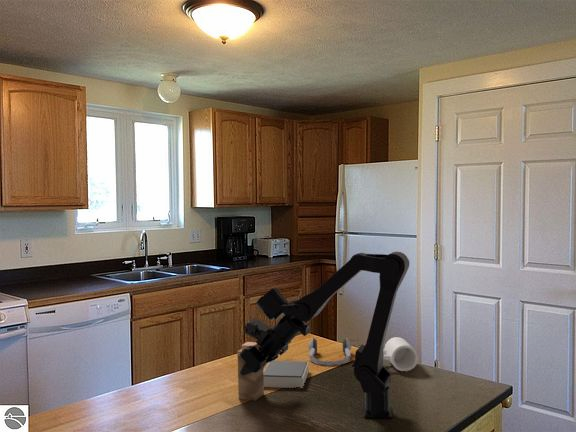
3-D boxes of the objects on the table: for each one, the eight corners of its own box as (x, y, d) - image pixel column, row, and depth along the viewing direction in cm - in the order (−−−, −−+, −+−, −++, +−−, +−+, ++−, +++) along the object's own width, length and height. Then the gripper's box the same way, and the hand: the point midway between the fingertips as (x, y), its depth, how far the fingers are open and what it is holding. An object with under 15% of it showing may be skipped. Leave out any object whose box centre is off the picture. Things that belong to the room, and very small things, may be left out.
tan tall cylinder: (263, 393, 136) (262, 347, 136) (255, 400, 131) (254, 352, 131) (247, 391, 138) (246, 346, 138) (238, 398, 133) (237, 351, 133)
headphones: (309, 345, 179) (306, 372, 160) (308, 329, 178) (306, 355, 159) (358, 345, 178) (362, 372, 158) (358, 329, 177) (362, 355, 157)
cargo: (258, 348, 135) (258, 342, 135) (253, 351, 132) (252, 346, 132) (247, 347, 136) (247, 341, 136) (241, 350, 133) (241, 345, 133)
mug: (409, 361, 161) (408, 336, 161) (418, 371, 151) (417, 345, 151) (372, 362, 161) (371, 337, 161) (378, 372, 151) (378, 346, 151)
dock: (302, 388, 139) (302, 376, 139) (260, 386, 141) (260, 375, 141) (308, 371, 153) (308, 361, 153) (269, 370, 155) (269, 360, 155)
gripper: (276, 303, 141) (243, 339, 146) (246, 317, 124) (208, 357, 128) (303, 333, 138) (268, 369, 143) (276, 352, 121) (236, 392, 125)
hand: (246, 370), depth 135 cm, fingers closed on tan tall cylinder, 5 cm apart
